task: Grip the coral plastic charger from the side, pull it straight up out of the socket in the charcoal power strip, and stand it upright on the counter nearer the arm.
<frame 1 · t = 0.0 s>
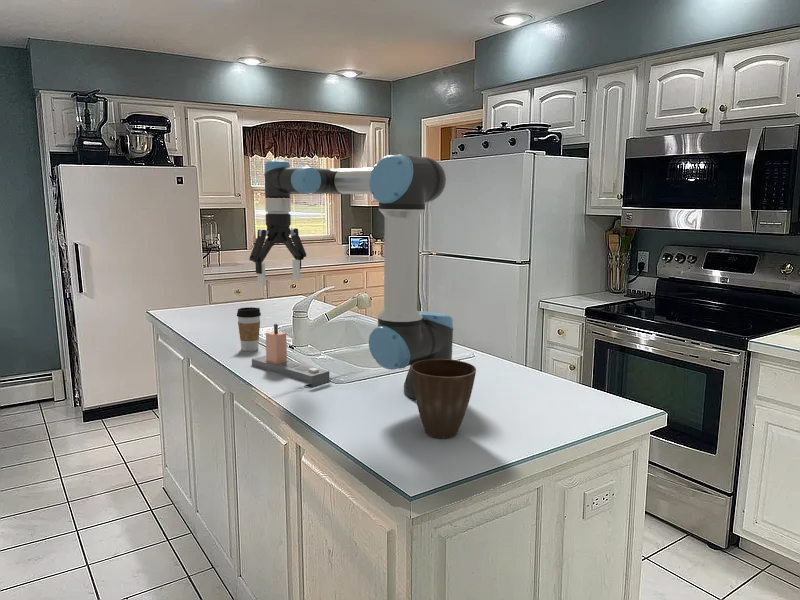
hand: (279, 282, 189), 28 cm above the countertop, tool pointing down, fingers open, 13 cm apart
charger: (276, 367, 191), point 1 cm above the countertop, touching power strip
coffee cup: (249, 349, 219), on the countertop
plant pot: (441, 433, 144), on the countertop
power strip: (289, 375, 187), on the countertop
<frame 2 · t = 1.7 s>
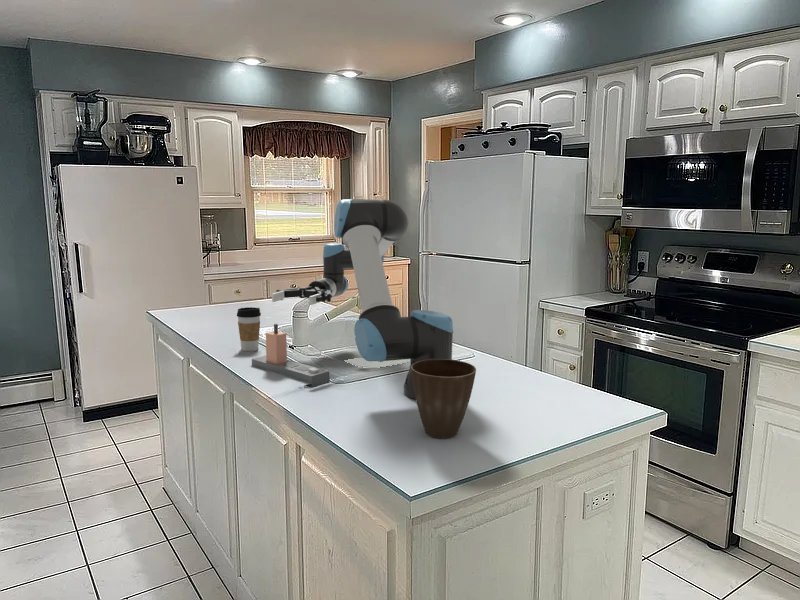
hand: (291, 299, 196), 22 cm above the countertop, tool horizontal, fingers open, 13 cm apart
nothing on the countertop moved.
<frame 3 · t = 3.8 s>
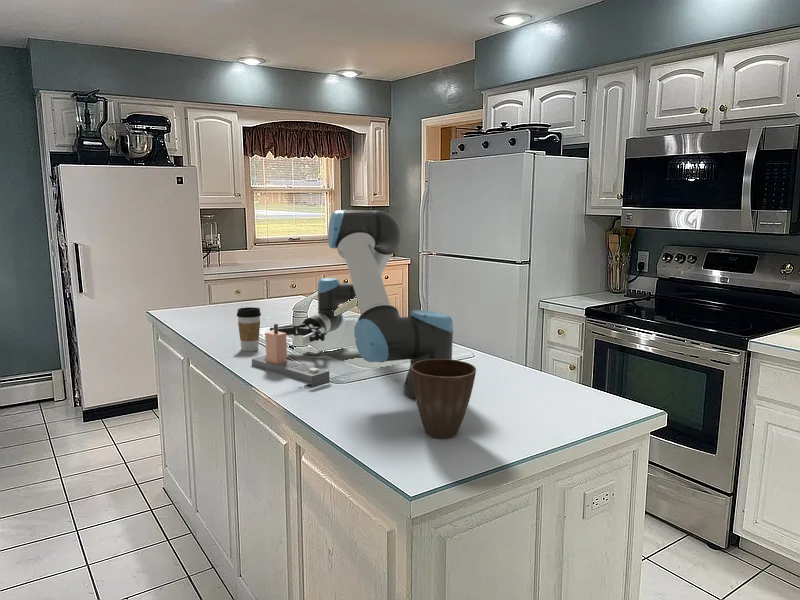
hand: (284, 339, 195), 9 cm above the countertop, tool horizontal, fingers open, 13 cm apart
nothing on the countertop moved.
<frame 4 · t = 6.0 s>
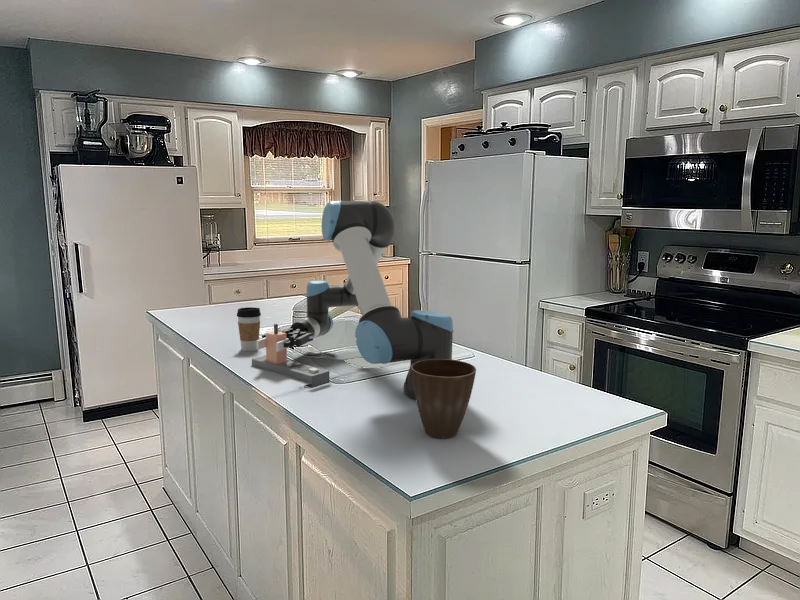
hand: (267, 346, 185), 9 cm above the countertop, tool horizontal, fingers closed on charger, 6 cm apart
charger: (276, 367, 191), point 1 cm above the countertop, touching gripper, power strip
everything else where it was.
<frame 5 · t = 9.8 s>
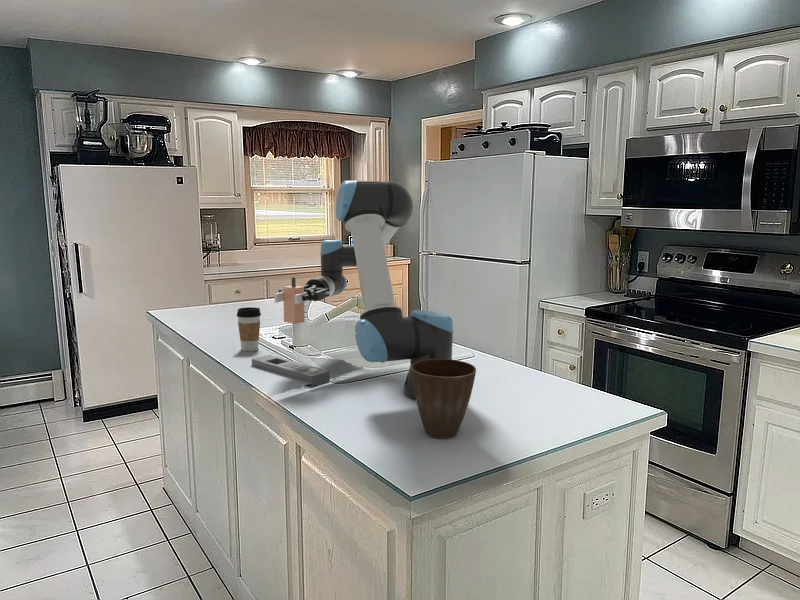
hand: (285, 298, 184), 24 cm above the countertop, tool horizontal, fingers closed on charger, 6 cm apart
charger: (294, 321, 190), point 16 cm above the countertop, touching gripper
everything else where it was.
when the fingers open (9 cm above the countertop, at t = 13.4 s): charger drops 2 cm, on the countertop.
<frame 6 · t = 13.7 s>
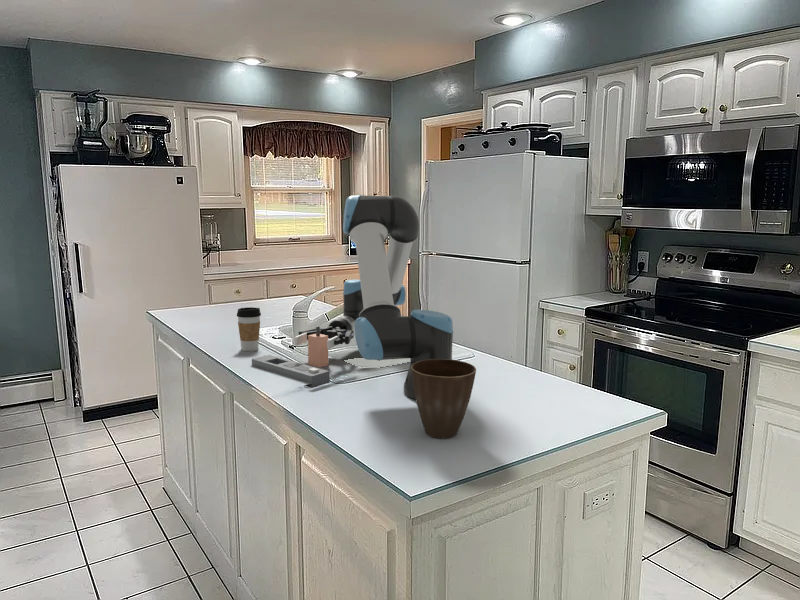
hand: (311, 342, 189), 9 cm above the countertop, tool horizontal, fingers open, 10 cm apart
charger: (318, 369, 195), on the countertop
everything else where it was.
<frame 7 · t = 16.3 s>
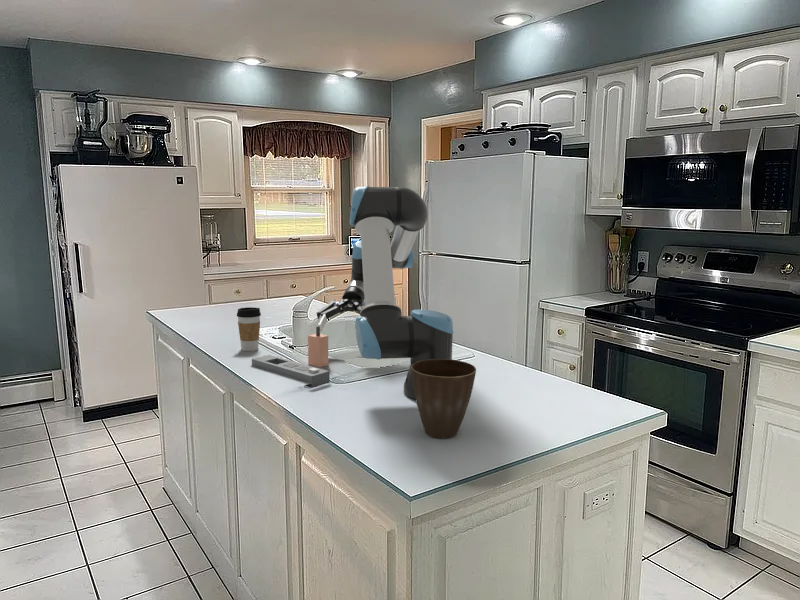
hand: (339, 328, 201), 11 cm above the countertop, tool tilted 70°, fingers open, 13 cm apart
nothing on the countertop moved.
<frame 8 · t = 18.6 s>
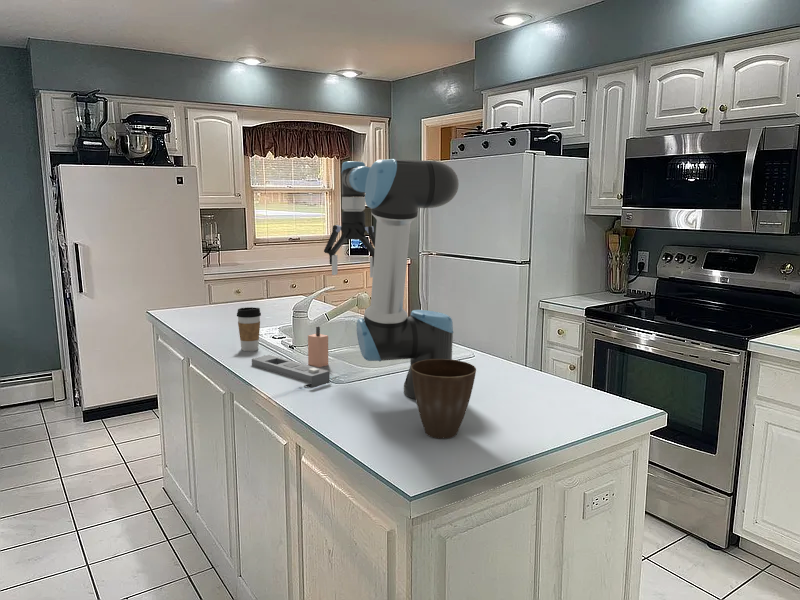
hand: (353, 275, 201), 29 cm above the countertop, tool pointing down, fingers open, 13 cm apart
nothing on the countertop moved.
at the end: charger inside the target area (0.4 cm from its centre), on the countertop; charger tilted 0°; the gripper is holding nothing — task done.
